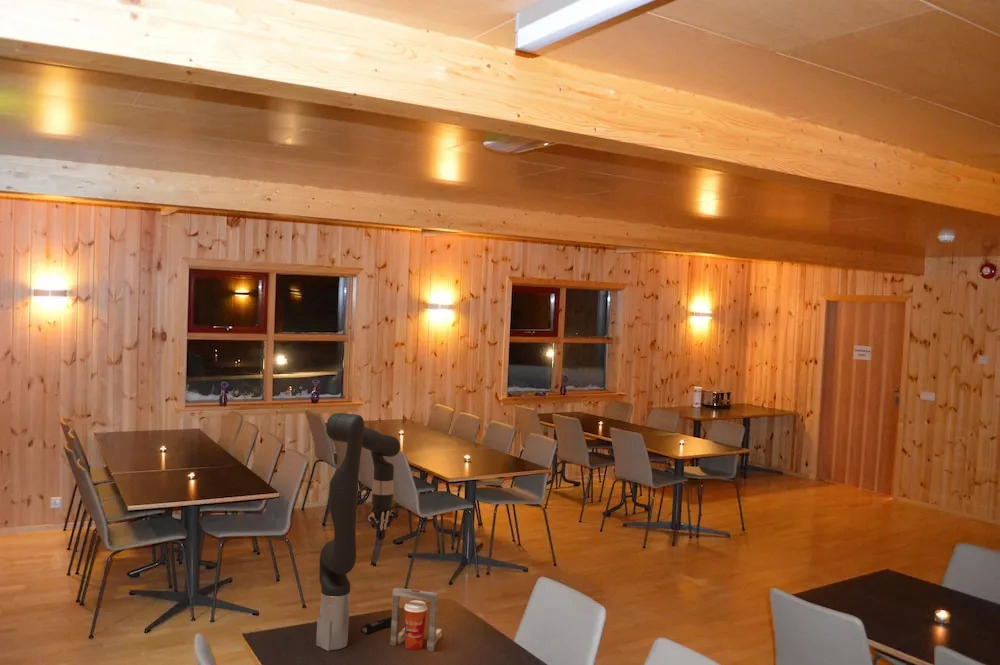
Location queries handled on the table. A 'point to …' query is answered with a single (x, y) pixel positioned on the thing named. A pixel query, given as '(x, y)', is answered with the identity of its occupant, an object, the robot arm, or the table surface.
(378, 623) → the electric trimmer
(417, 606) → the paper cup
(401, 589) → the guide arch
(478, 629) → the table surface
